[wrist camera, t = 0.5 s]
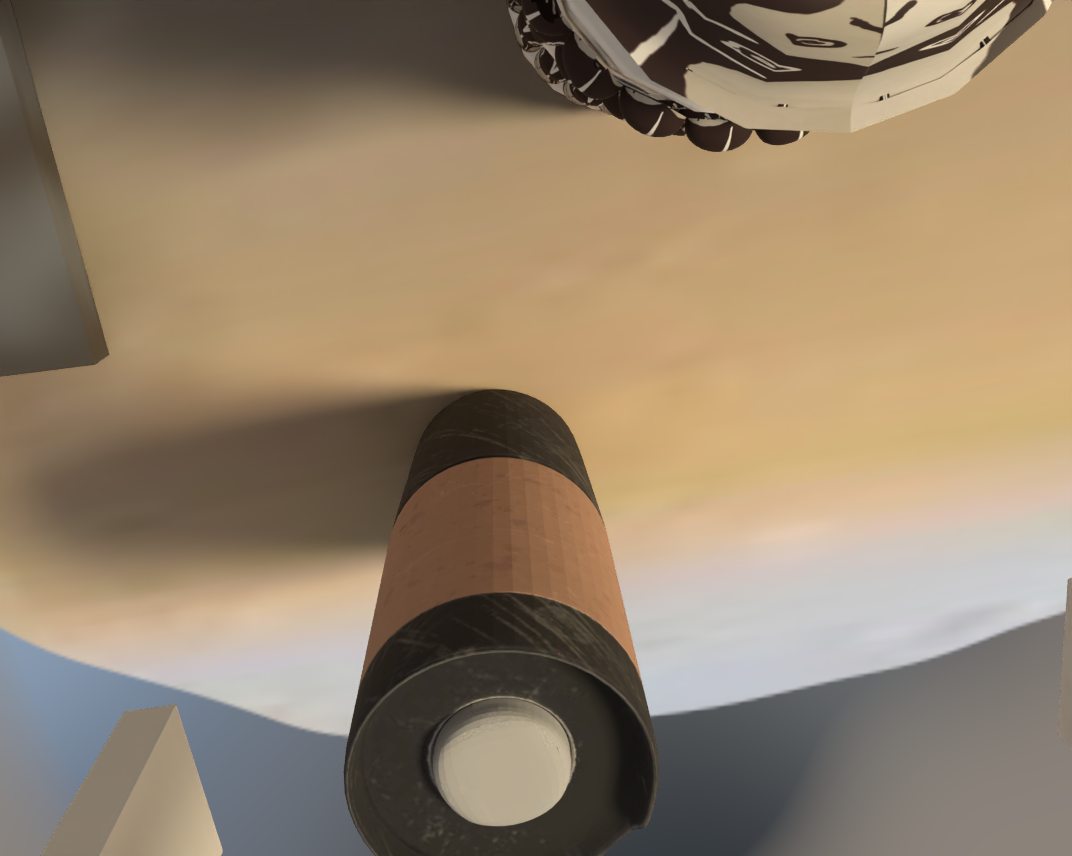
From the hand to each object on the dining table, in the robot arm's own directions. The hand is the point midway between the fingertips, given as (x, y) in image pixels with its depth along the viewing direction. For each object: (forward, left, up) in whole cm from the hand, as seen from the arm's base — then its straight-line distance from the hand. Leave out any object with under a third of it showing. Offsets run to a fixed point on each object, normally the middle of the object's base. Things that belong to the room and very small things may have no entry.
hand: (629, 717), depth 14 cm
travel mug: (+6, -3, -27) cm, 27 cm away
